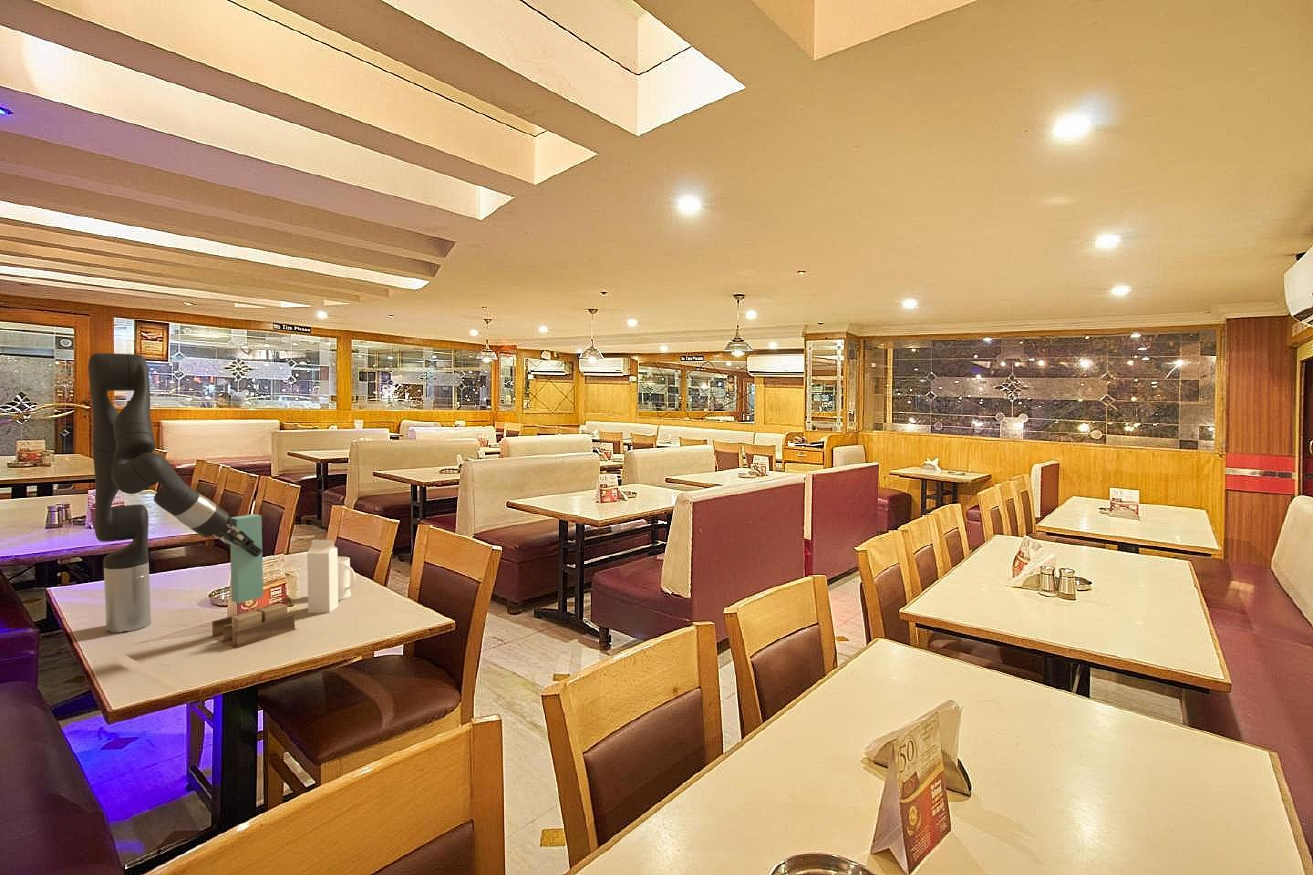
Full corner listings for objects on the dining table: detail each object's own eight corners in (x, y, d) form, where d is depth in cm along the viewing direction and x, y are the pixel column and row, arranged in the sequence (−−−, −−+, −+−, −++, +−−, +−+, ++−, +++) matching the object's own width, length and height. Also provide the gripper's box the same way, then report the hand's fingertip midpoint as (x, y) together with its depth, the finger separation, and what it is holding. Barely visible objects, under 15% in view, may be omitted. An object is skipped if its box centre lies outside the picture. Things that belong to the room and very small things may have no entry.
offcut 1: (232, 641, 155) (231, 616, 154) (256, 634, 160) (255, 610, 159) (238, 644, 153) (238, 619, 153) (262, 637, 158) (261, 612, 158)
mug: (364, 596, 195) (364, 559, 194) (341, 604, 187) (341, 566, 186) (337, 590, 200) (337, 554, 199) (314, 598, 192) (313, 561, 191)
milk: (317, 610, 182) (316, 537, 181) (338, 610, 183) (337, 537, 181) (307, 617, 176) (306, 542, 175) (329, 617, 177) (328, 542, 175)
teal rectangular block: (231, 600, 160) (229, 517, 158) (256, 594, 165) (254, 513, 163) (238, 603, 158) (236, 519, 156) (263, 596, 163) (261, 515, 162)
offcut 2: (259, 633, 160) (258, 609, 160) (281, 626, 165) (280, 603, 165) (265, 636, 159) (265, 611, 158) (287, 629, 164) (287, 605, 163)
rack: (210, 642, 158) (209, 621, 157) (270, 624, 171) (270, 604, 170) (236, 654, 151) (235, 632, 151) (297, 634, 164) (297, 614, 164)
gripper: (227, 506, 150) (279, 544, 161) (199, 499, 157) (251, 537, 168) (203, 531, 145) (258, 569, 157) (175, 523, 152) (230, 560, 164)
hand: (254, 552), depth 162 cm, fingers closed on teal rectangular block, 3 cm apart
